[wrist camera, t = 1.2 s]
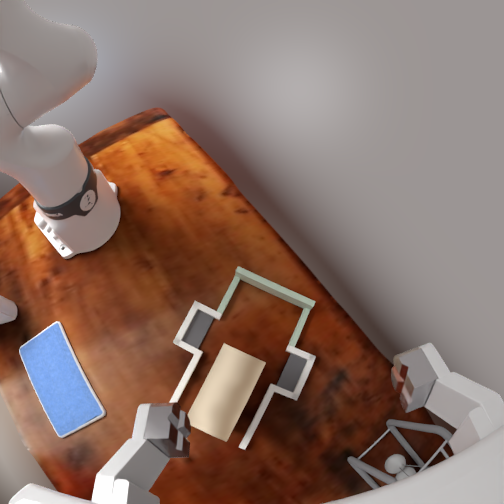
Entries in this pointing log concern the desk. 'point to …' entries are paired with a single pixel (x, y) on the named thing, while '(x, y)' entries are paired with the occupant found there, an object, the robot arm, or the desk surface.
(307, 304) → the box
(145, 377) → the desk surface
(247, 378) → the maple block
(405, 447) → the newton's cradle
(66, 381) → the tablet computer
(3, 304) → the photo printer
